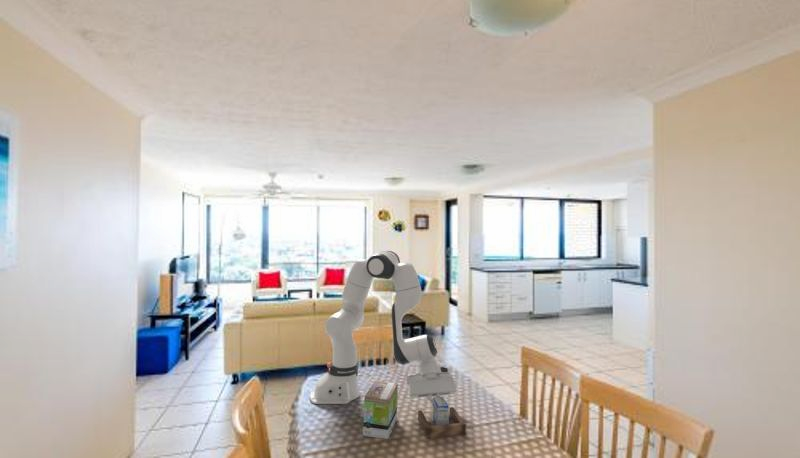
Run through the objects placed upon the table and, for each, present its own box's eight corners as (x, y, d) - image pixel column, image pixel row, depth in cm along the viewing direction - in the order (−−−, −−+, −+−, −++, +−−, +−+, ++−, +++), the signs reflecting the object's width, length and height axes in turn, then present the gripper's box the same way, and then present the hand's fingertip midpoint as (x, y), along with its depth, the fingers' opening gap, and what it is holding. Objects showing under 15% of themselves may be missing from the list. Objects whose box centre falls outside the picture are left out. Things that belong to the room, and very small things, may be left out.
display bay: (427, 438, 134) (427, 428, 134) (417, 419, 147) (417, 410, 147) (465, 433, 137) (465, 424, 137) (452, 415, 150) (453, 407, 150)
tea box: (389, 440, 133) (389, 399, 133) (362, 436, 135) (362, 396, 135) (397, 418, 147) (398, 382, 147) (373, 415, 149) (374, 379, 149)
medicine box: (432, 418, 148) (432, 396, 148) (443, 417, 149) (443, 396, 149) (437, 428, 140) (437, 406, 140) (448, 427, 141) (449, 405, 141)
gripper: (407, 371, 154) (412, 405, 145) (453, 368, 158) (461, 401, 149) (404, 377, 159) (409, 411, 149) (449, 374, 163) (457, 406, 153)
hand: (435, 406), depth 149 cm, fingers closed, pressing on medicine box
